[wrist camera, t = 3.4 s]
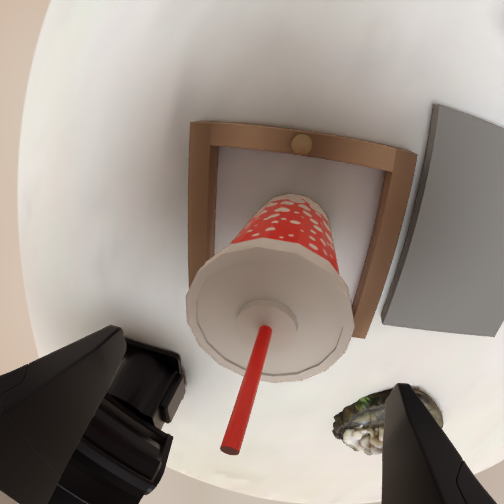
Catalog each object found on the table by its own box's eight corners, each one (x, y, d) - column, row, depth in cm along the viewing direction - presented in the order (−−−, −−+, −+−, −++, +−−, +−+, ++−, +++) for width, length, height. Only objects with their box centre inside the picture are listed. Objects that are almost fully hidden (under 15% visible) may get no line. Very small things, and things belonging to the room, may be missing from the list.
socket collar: (197, 294, 22) (186, 311, 20) (200, 121, 17) (185, 123, 15) (363, 324, 20) (365, 344, 19) (409, 150, 15) (421, 156, 13)
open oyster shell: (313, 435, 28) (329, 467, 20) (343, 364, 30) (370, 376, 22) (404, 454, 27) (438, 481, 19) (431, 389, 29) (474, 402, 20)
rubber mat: (380, 315, 20) (382, 324, 19) (433, 104, 13) (439, 104, 13) (490, 328, 18) (494, 336, 17) (551, 154, 12) (559, 157, 11)
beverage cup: (236, 183, 18) (75, 345, 6) (342, 179, 17) (383, 376, 4) (248, 275, 21) (159, 471, 8) (342, 275, 19) (342, 497, 7)
